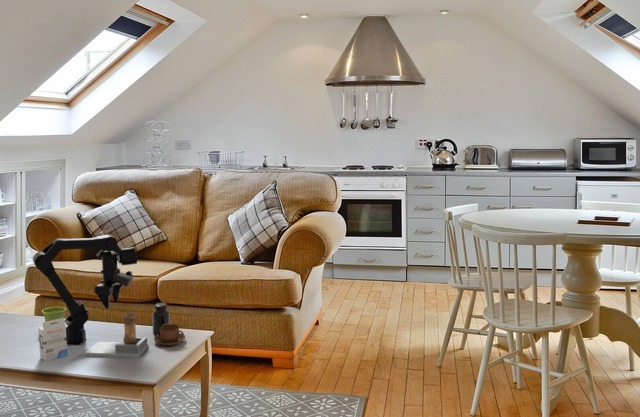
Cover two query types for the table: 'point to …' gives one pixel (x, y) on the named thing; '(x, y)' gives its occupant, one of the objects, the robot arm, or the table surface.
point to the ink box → (53, 340)
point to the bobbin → (130, 328)
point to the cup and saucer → (169, 335)
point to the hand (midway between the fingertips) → (111, 305)
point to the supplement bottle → (160, 317)
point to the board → (118, 348)
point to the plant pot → (53, 313)
